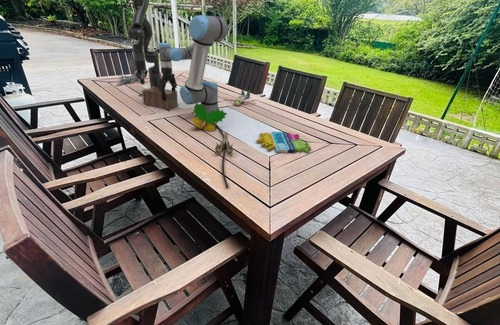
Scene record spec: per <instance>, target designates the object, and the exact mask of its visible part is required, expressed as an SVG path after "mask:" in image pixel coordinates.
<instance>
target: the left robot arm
mask: <svg viewBox="0 0 500 325" xmlns="http://www.w3.org/2000/svg"><path fill="white" fill-rule="evenodd" d="M132 4H133V8H134V11H135V12H134V14H133V15H132V20H131V24H130V25H129V27H128V28H127V31H126V32H127V34H126V35H127V38H128V39H130V40H132V41H138V42H136V43H132V45H131V48H132V57H133V65H134V67H135V71H133V74H135V76H136V77H137V78H138V79H140V81H139V82H140V85H145V78H147V75H148V78H149V88H152V87H157V88H159V82H160V76H162V73H161V64H160V55H159V51H155V50H154V51H153V50H150V49H149V46H150V42H151V41H152V38H153V35H154V33H153V28H152V25H151V22H150V21H149V20H148V19H147V17H146V14H147V11H148V9H149V6H150V0H132ZM146 63H148V64H153V65H152V66H149V67H148V69H146V66H147V64H146Z"/></svg>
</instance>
